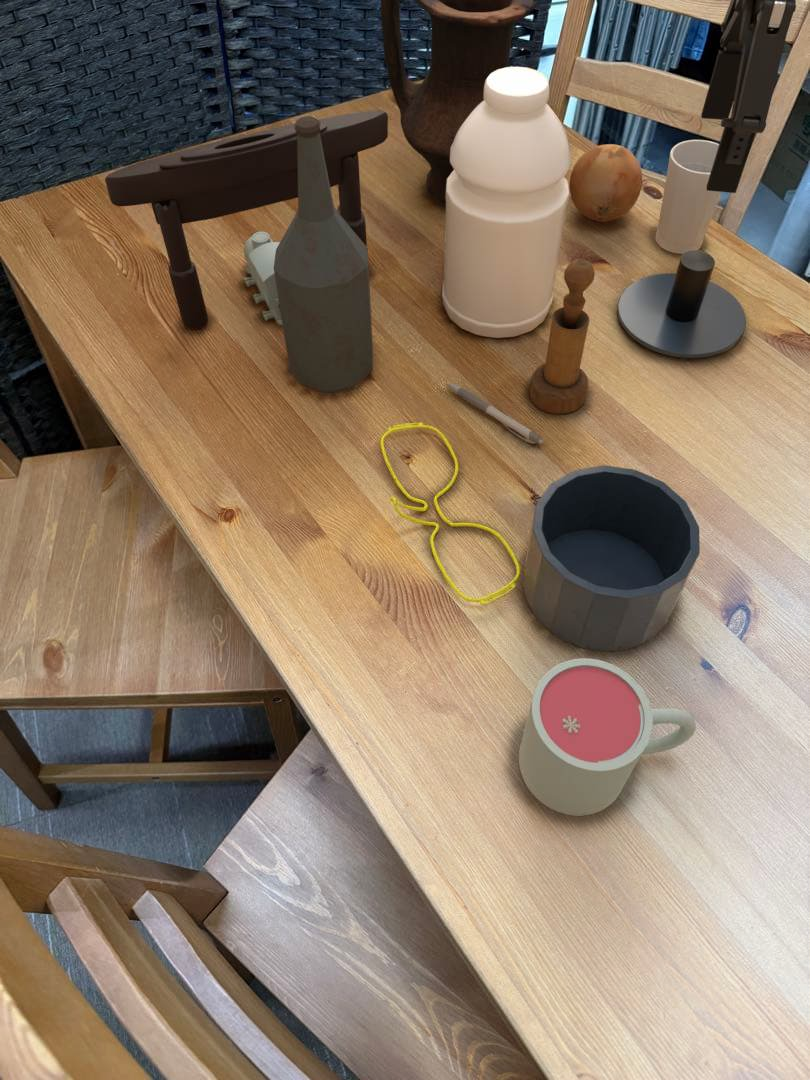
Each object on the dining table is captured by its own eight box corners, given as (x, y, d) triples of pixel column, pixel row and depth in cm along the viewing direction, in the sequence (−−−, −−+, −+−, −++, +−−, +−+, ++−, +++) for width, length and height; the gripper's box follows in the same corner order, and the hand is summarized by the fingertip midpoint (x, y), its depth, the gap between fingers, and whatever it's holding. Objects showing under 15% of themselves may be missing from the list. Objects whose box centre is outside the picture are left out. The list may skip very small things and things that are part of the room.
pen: (538, 450, 94) (539, 441, 93) (443, 390, 100) (443, 381, 99) (543, 445, 95) (545, 436, 94) (449, 386, 101) (449, 377, 99)
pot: (673, 537, 87) (698, 477, 80) (673, 662, 79) (701, 609, 71) (530, 517, 89) (541, 456, 81) (515, 638, 80) (526, 583, 73)
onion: (626, 194, 124) (641, 126, 116) (640, 235, 118) (657, 166, 110) (560, 196, 124) (570, 128, 115) (570, 237, 118) (582, 168, 110)
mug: (526, 818, 70) (541, 774, 62) (512, 714, 76) (524, 661, 68) (690, 809, 71) (726, 764, 63) (665, 706, 76) (694, 652, 68)
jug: (536, 160, 129) (564, -72, 105) (518, 230, 119) (544, -9, 94) (401, 144, 132) (397, -84, 108) (371, 212, 122) (360, -25, 97)
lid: (740, 287, 111) (762, 228, 104) (746, 369, 102) (770, 310, 95) (618, 274, 113) (632, 215, 106) (613, 353, 104) (628, 294, 97)
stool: (85, 134, 94) (361, 73, 102) (135, 291, 111) (368, 228, 119) (117, 209, 86) (415, 136, 94) (166, 366, 103) (415, 293, 111)
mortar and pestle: (533, 371, 102) (552, 239, 87) (587, 378, 101) (616, 246, 87) (526, 410, 98) (545, 279, 84) (582, 418, 97) (612, 287, 83)
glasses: (533, 592, 83) (539, 564, 80) (440, 625, 81) (442, 598, 78) (433, 421, 97) (434, 390, 93) (352, 445, 95) (349, 415, 91)
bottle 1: (294, 338, 106) (258, 93, 82) (373, 337, 106) (361, 92, 82) (288, 397, 100) (248, 151, 75) (372, 396, 100) (359, 150, 75)
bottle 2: (515, 259, 115) (540, 37, 92) (572, 319, 107) (614, 94, 85) (422, 289, 111) (424, 66, 89) (474, 353, 104) (491, 128, 81)
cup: (643, 249, 116) (664, 166, 106) (655, 217, 120) (677, 134, 110) (702, 262, 114) (729, 179, 104) (713, 229, 118) (739, 146, 109)
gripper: (736, -153, 77) (677, 88, 94) (757, -40, 62) (682, 220, 79) (823, -149, 76) (747, 93, 93) (865, -34, 61) (765, 227, 78)
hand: (717, 152), depth 86 cm, fingers open, 13 cm apart
